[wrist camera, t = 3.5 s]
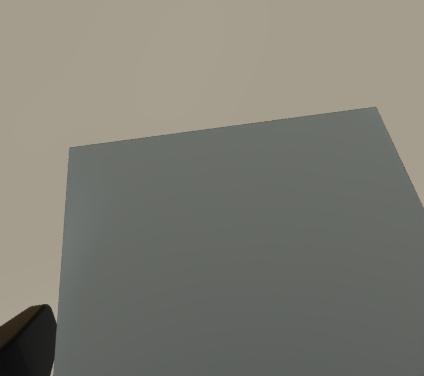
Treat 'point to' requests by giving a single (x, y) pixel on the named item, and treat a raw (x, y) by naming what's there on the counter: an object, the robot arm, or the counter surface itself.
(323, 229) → the slate pillar
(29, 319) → the robot arm
